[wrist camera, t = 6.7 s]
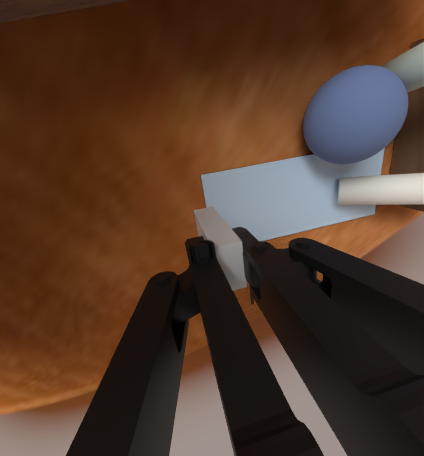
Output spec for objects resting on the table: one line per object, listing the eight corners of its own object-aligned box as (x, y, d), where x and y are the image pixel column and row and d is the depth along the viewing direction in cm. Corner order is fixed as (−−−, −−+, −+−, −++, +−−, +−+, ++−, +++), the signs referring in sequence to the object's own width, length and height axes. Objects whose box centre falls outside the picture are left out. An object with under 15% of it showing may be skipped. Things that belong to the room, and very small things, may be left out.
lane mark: (213, 251, 20) (213, 252, 20) (200, 175, 17) (201, 175, 17) (372, 213, 22) (374, 214, 22) (383, 140, 19) (385, 140, 19)
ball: (395, 148, 17) (354, 193, 15) (323, 125, 20) (282, 161, 18) (453, 54, 12) (401, 106, 10) (344, 43, 15) (291, 82, 13)
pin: (338, 208, 19) (493, 209, 14) (340, 180, 18) (506, 171, 14) (337, 200, 21) (474, 199, 16) (339, 174, 20) (484, 165, 16)
